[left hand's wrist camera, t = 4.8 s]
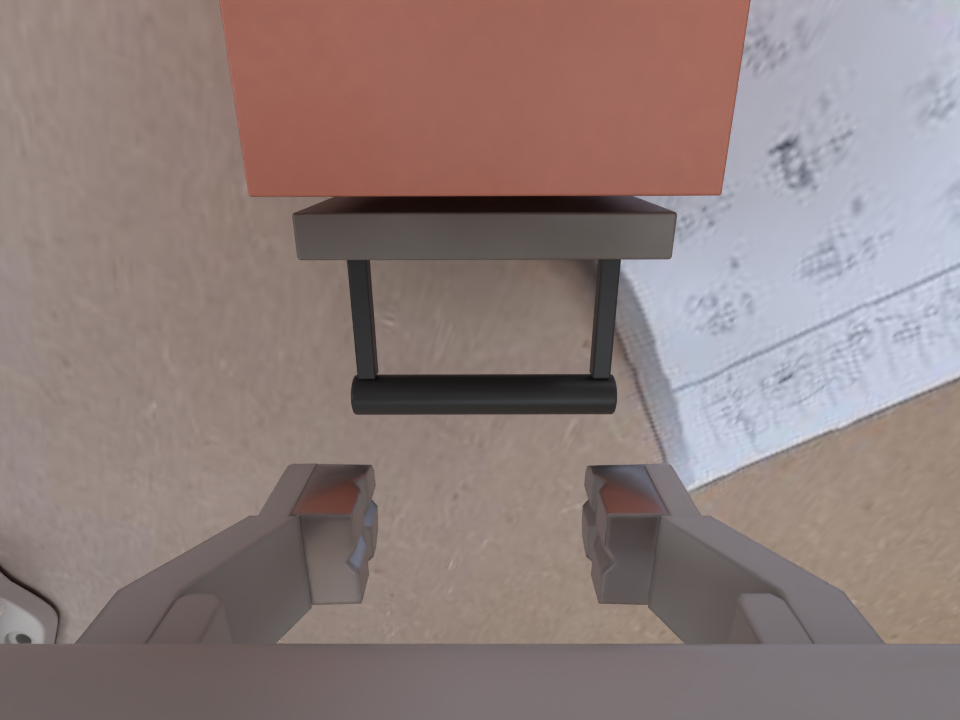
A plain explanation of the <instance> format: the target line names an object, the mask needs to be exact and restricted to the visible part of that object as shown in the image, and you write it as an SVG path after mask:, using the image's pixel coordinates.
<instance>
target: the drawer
mask: <svg viewBox="0 0 960 720" xmlns="http://www.w3.org/2000/svg"><path fill="white" fill-rule="evenodd" d="M292 217H293V225H294V233H295V241H296V249H297V257H298V259H299V260H347V265H348V276H349V287H350V298H351V309H352V320H353V331H354V342H355V353H356V364H357V375H356V376H354V379H353V382H352V387H351V404H352V409H353V412H354V413H355V414H357V415H418V414H613V413H614V411H615V408H616V404H617V387H616V381H615V378H614V376H613V375H611V374H610V372H611V361H612V350H613V339H614V328H615V317H616V306H617V295H618V285H619V274H620V263H621V259H670V258H671V257H672V250H673V242H674V234H675V226H676V218H677V214H676V212H673V211H671V210H668V209H665V208H663V207H660V206H658V205H655V204H652V203H650V202H647V201H644V200H642V199H639V198H636V197H634V196H336V197H333V198H331V199H328V200H326V201H323V202H321V203H318V204H316V205H313V206H311V207H308V208H306V209H303V210H301V211H298V212H296V213H293V216H292ZM558 259H598V268H597V281H596V294H595V307H594V320H593V334H592V347H591V360H590V373H591V374H479V375H377V374H378V363H377V349H376V336H375V323H374V310H373V297H372V284H371V270H370V260H558Z"/></svg>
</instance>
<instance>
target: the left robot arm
mask: <svg viewBox="0 0 960 720" xmlns="http://www.w3.org/2000/svg"><path fill="white" fill-rule="evenodd" d="M375 486H376V485H375V475H374V469H373V467H372V465H348V464H319V465H318V464H291V465H289V466H288V467H287V468H286V470H285V471H284V473H283V475H282V476H281V478H280V480H279V481H278V483H277V485H276V486H275V488H274V490H273V491H272V493H271V495H270V496H269V498H268V500H267V501H266V503H265V505H264V506H263V508H262V510H261V511H260V513H259V515H258V516H248V517H247V518H245V519H243V520H241V521H240V522H238V523H236V524H234V525H233V526H231V527H229V528H227V529H226V530H224V531H222V532H220V533H219V534H217V535H215V536H213V537H211V538H210V539H208V540H206V541H204V542H203V543H201V544H199V545H197V546H196V547H194V548H192V549H190V550H189V551H187V552H185V553H183V554H182V555H180V556H178V557H176V558H174V559H173V560H171V561H169V562H167V563H166V564H164V565H162V566H160V567H159V568H157V569H155V570H153V571H152V572H150V573H148V574H146V575H145V576H143V577H141V578H139V579H137V580H136V581H134V582H132V583H130V584H129V585H127V586H125V587H123V588H122V589H120V590H118V591H117V592H116V593H115V594H114V596H113V597H112V598H111V599H110V601H109V602H108V603H107V604H106V606H105V607H104V608H103V609H102V611H101V612H100V613H99V614H98V615H97V617H96V618H95V619H94V620H93V622H92V623H91V624H90V625H89V627H88V628H87V629H86V630H85V631H84V633H83V634H82V635H81V636H80V638H79V639H78V640H77V641H76V643H75V644H54V643H55V638H56V632H57V626H58V616H57V614H56V612H55V610H54V609H53V608H52V607H51V606H50V605H49V604H47V603H46V602H45V601H43V600H42V599H40V598H39V597H37V596H36V595H34V594H32V593H31V592H29V591H27V590H26V589H24V588H22V587H20V586H19V585H17V584H15V583H13V582H11V581H10V580H9V579H8V578H7V577H5V576H4V575H3V574H2V573H1V572H0V720H960V644H885V643H884V641H883V640H882V639H881V638H880V636H879V635H878V634H877V633H876V631H875V630H874V629H873V628H872V626H871V625H870V624H869V623H868V622H867V620H866V619H865V618H864V617H863V615H862V614H861V613H860V612H859V610H858V609H857V608H856V607H855V605H854V604H853V603H852V602H851V600H850V599H849V598H848V597H847V595H846V594H845V593H844V592H843V591H841V590H840V589H838V588H836V587H834V586H833V585H831V584H829V583H827V582H826V581H824V580H822V579H820V578H819V577H817V576H815V575H813V574H812V573H810V572H808V571H806V570H804V569H803V568H801V567H799V566H797V565H796V564H794V563H792V562H790V561H789V560H787V559H785V558H783V557H782V556H780V555H778V554H776V553H775V552H773V551H771V550H769V549H768V548H766V547H764V546H762V545H761V544H759V543H757V542H755V541H754V540H752V539H750V538H748V537H747V536H745V535H743V534H741V533H740V532H738V531H736V530H734V529H733V528H731V527H729V526H727V525H725V524H724V523H722V522H720V521H718V520H717V519H715V518H713V517H711V516H702V515H701V513H700V512H699V510H698V508H697V507H696V505H695V503H694V502H693V500H692V498H691V497H690V495H689V493H688V492H687V490H686V489H685V487H684V485H683V484H682V482H681V480H680V479H679V477H678V475H677V474H676V472H675V470H674V469H673V467H672V466H671V465H670V464H668V463H663V464H638V465H598V466H587V469H586V473H585V484H584V486H585V489H586V493H587V496H588V500H587V501H586V503H585V504H584V505H583V510H582V537H583V543H584V549H585V553H586V557H587V558H588V559H590V560H591V561H592V569H591V577H592V580H593V584H594V588H595V592H596V595H597V599H598V603H600V604H636V605H648V607H649V608H650V609H651V610H652V611H653V612H654V613H655V614H656V615H657V616H658V617H659V618H660V619H661V620H662V621H663V622H664V623H665V624H666V625H667V626H668V627H669V628H670V629H671V630H672V631H673V632H674V633H675V634H676V635H677V636H678V637H679V638H680V639H681V640H682V641H683V642H684V643H685V644H275V643H276V642H277V641H278V640H279V639H280V638H281V637H282V636H283V635H284V634H285V633H286V632H287V631H288V630H289V629H291V628H292V627H293V626H294V625H295V624H296V623H297V622H298V621H299V620H300V619H301V618H302V617H303V616H304V615H305V614H306V613H307V612H308V611H309V610H310V609H311V608H312V607H311V605H324V604H359V603H362V599H363V595H364V592H365V588H366V584H367V580H368V576H369V570H368V561H369V560H370V559H371V558H373V557H374V553H375V548H376V543H377V534H378V510H377V505H376V504H375V503H374V501H373V500H372V496H373V492H374V489H375Z"/></svg>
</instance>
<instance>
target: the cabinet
mask: <svg viewBox="0 0 960 720" xmlns="http://www.w3.org/2000/svg"><path fill="white" fill-rule="evenodd" d="M220 7H221V13H222V20H223V27H224V33H225V40H226V47H227V53H228V60H229V67H230V73H231V80H232V87H233V93H234V100H235V107H236V113H237V120H238V127H239V133H240V140H241V147H242V153H243V160H244V167H245V173H246V180H247V187H248V193H249V196H251V197H319V196H701V195H721V192H722V185H723V179H724V172H725V166H726V159H727V152H728V146H729V139H730V132H731V126H732V119H733V113H734V106H735V99H736V93H737V86H738V80H739V73H740V66H741V60H742V53H743V46H744V40H745V33H746V27H747V20H748V13H749V7H750V0H220Z"/></svg>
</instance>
